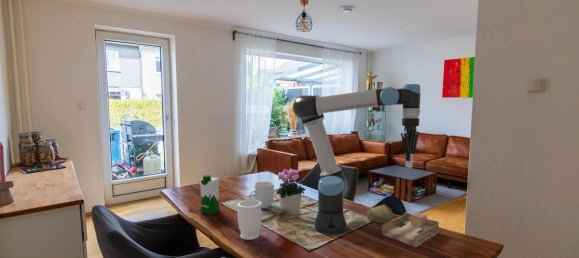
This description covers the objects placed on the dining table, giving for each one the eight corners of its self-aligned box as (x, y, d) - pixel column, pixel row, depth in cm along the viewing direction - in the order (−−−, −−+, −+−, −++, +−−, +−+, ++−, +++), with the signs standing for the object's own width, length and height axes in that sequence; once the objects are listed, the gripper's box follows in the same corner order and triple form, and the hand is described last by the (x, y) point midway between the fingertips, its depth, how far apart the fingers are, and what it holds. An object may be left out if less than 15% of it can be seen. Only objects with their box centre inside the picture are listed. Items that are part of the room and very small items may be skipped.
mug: (253, 212, 164) (253, 188, 163) (245, 206, 173) (244, 183, 172) (277, 207, 172) (277, 184, 170) (268, 202, 181) (268, 180, 180)
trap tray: (381, 234, 137) (382, 222, 137) (405, 222, 150) (405, 212, 150) (416, 247, 125) (416, 234, 125) (438, 233, 138) (438, 221, 137)
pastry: (400, 222, 151) (401, 206, 150) (383, 228, 145) (384, 211, 144) (378, 213, 163) (378, 198, 162) (361, 218, 156) (362, 203, 156)
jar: (239, 242, 129) (238, 208, 128) (236, 232, 139) (236, 200, 138) (264, 239, 132) (263, 205, 131) (259, 229, 142) (259, 198, 141)
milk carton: (198, 213, 163) (197, 176, 161) (209, 207, 171) (208, 172, 169) (211, 215, 159) (210, 178, 157) (222, 210, 167) (221, 174, 166)
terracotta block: (410, 225, 141) (410, 214, 141) (415, 222, 145) (416, 212, 144) (420, 228, 138) (421, 217, 137) (426, 225, 141) (426, 215, 140)
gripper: (411, 118, 135) (409, 170, 138) (425, 117, 144) (423, 166, 146) (395, 117, 141) (394, 167, 143) (410, 116, 149) (408, 164, 152)
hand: (408, 167), depth 145 cm, fingers closed
